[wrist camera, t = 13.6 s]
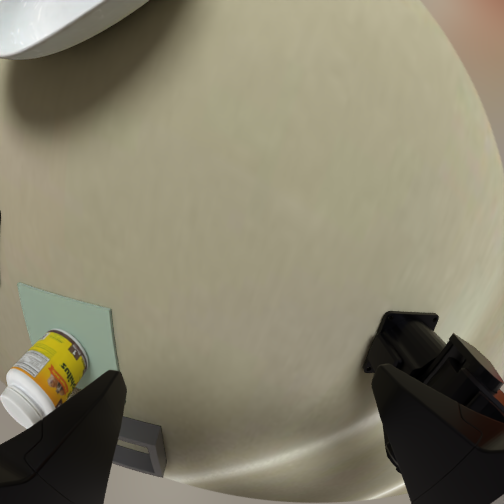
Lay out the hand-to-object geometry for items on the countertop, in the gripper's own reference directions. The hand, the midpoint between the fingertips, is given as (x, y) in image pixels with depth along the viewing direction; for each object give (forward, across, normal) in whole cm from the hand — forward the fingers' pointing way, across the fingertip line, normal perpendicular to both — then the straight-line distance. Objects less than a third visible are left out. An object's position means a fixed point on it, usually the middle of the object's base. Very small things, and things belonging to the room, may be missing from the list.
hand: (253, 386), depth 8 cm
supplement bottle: (+12, +17, +10) cm, 23 cm away
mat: (+12, +18, +10) cm, 24 cm away
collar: (+12, +14, +24) cm, 31 cm away
